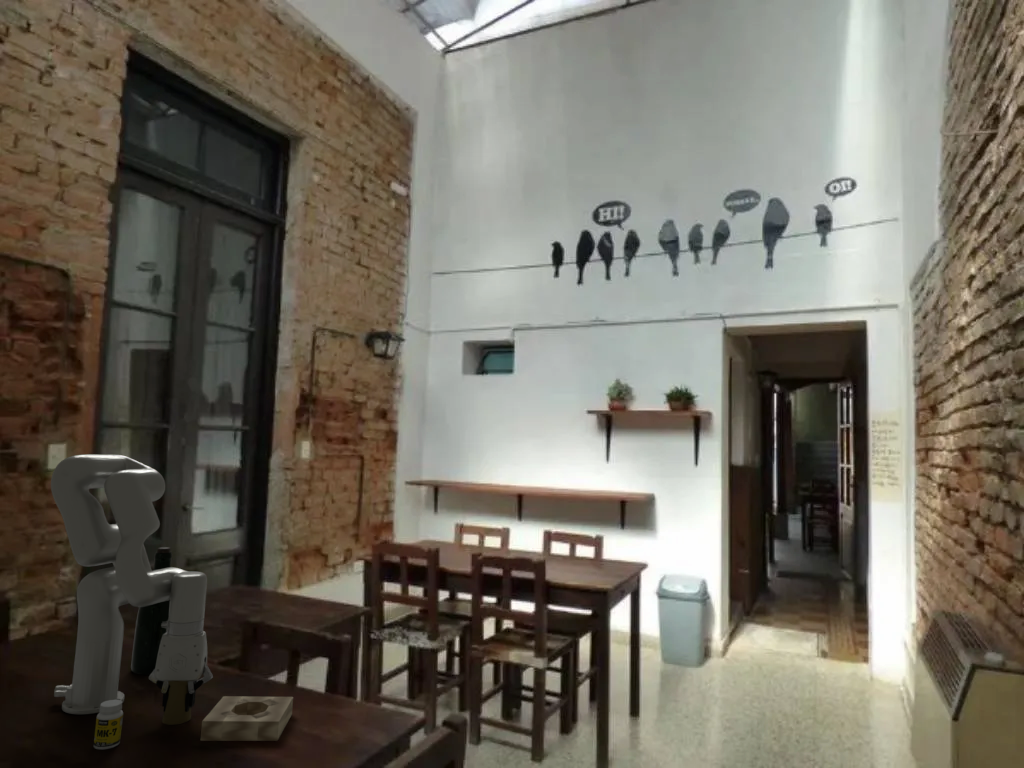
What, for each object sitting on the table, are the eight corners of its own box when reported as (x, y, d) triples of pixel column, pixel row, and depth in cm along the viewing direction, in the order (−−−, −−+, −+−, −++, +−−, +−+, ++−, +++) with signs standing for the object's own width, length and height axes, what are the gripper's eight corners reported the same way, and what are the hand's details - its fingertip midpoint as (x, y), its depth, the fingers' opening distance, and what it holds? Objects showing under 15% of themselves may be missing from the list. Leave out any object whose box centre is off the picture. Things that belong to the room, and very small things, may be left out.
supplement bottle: (91, 751, 133) (95, 708, 134) (95, 741, 138) (99, 700, 139) (118, 748, 135) (122, 705, 136) (121, 738, 140) (125, 697, 140)
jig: (200, 740, 140) (202, 721, 141) (222, 713, 154) (223, 696, 155) (277, 740, 142) (278, 721, 142) (291, 714, 156) (293, 696, 156)
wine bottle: (162, 660, 188) (173, 543, 192) (180, 669, 182) (192, 548, 185) (123, 669, 180) (135, 546, 183) (141, 678, 174) (154, 551, 177)
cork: (197, 716, 152) (201, 667, 153) (176, 726, 147) (181, 675, 148) (177, 711, 154) (181, 663, 155) (155, 721, 149) (160, 671, 150)
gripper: (140, 631, 148) (132, 716, 146) (217, 632, 150) (210, 716, 148) (154, 622, 155) (147, 702, 153) (228, 623, 157) (221, 703, 155)
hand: (178, 708), depth 151 cm, fingers closed on cork, 3 cm apart
